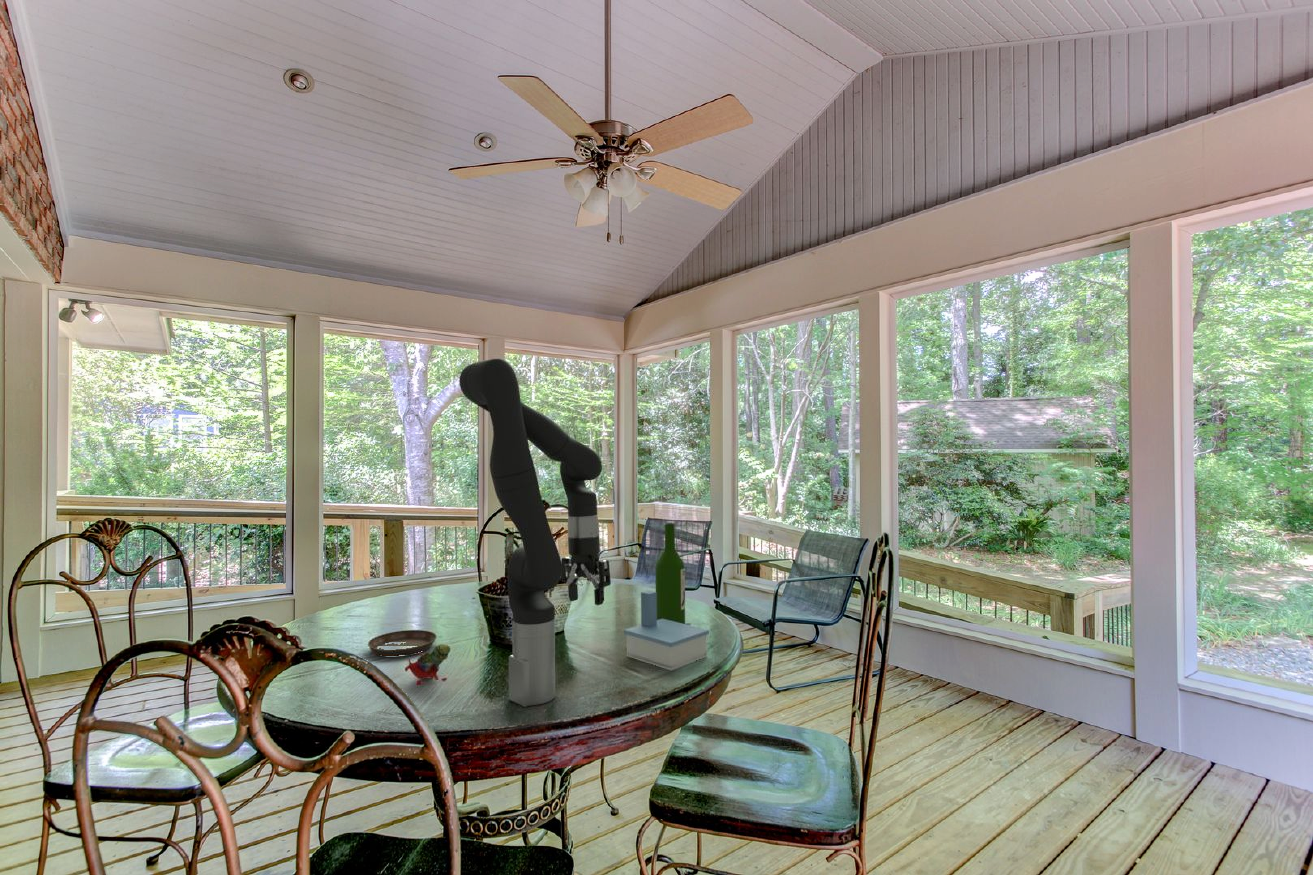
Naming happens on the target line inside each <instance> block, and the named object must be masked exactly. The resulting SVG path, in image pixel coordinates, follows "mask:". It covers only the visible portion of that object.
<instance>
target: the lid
mask: <svg viewBox="0 0 1313 875" xmlns="http://www.w3.org/2000/svg"><path fill="white" fill-rule="evenodd" d="M640 613H641V614H640V618H641V619H640V624H639V625H636V626H632V627H629V628H625V629H623V634H624V635H626V636H627V635H631V636H634V637H638V638H641V639H645V640H648V641H652V642H655V643H659V644H662V645H665V646H669V647H673V646H676V645H678V644H681V643H684V642H687V641H690V640H693V639H696V638H699V637H702V636H704V635H706V636H707V635H710V629H707V628H701V627H699V626H694V625H690V624H686V623H685V624H682V623H678V622H674V621H670V620H666V619H659V620H657V595H656V591H653V590H645V591H641V592H640Z"/></svg>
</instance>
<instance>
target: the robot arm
mask: <svg viewBox="0 0 1313 875" xmlns="http://www.w3.org/2000/svg"><path fill="white" fill-rule="evenodd" d="M458 382H459V387H460V390H461V392H462V394H463V395H464V396H465V398H466V399H468V400H469V401H470V402H471V403H473V404H475V405H476V406H478V407H480V408H481V409H483V410H485V411H487V412H488V413H489V416H490V420H491V425H492V431H493V433H492V434H493V437H492V445H491V449H490V450H491V451H490V456H489V470H490V476H491V480H492V484H493V487H494V490H495V491H494V492H495V495H496V497H497V499H498V502H499V504H500V505H501V507H502V509H503V510H504V511H505V514H506V515H507V516H508V518H509V519H510V520H511V521H512V523H513V525H514V526H515V528H516V529H517V531H518V533H519V536H520V538H521V541H522V546H519V547H518V548H516V549H515V550H514V551H513V552H512V554H511V555H510V558H509V560H508V565H507V595H508V605H509V608H510V610H511V613H512V654H511V655H509V656H508V700H509V701H511V702H513V703H515V704H517V705H520V706H522V707H524V708H526V707H529V706H537V705H542V704H546V703H548V702H551V701H552V700H553V699H555V697H556V664H555V663H556V633H555V632H556V624H555V623H556V621H555V620H556V609H555V605H554V604H553V603H552V602H551V601H550V599H549V598H548V597H547V595H546V594H545V592H546V591H550V590H553V589H554V588H556V586H557V585H558V584H559V583H560V579H561V582H562V583H566V585H567V590H568V591H567V592H568V599H569V601H570V602H575V601H578V599H579V592H578V590H579V588H578V587H579V586H578V584H577V583H578V581H579V580H580V578H585V579H588V581H589V582H590V583H592V586H593V587H594V591H593V592H594V604H595V606H600V605H603V604H604V601H605V588H606V587H609V586H611V584H612V581H611V580H612V579H611V571H610V561H609V560H608V559H604V560H599V554H600V551H601V547H600V545H601V544H600V541H601V540H600V525H599V524H600V523H599V517H598V501H597V500H598V499H597V494H596V492H595V491H592V490H590V489H588V488H587V485H586V483H585V481H593V480H596V479H597V478H599V477H600V476H601V474H602V472H603V471H602V470H603V463H602V460H601V458H600V457H599V455H598V453H597V452H595V450H593V449H592V448H590V447H589V446H587V445H585V444H584V443H582V442H580V441H579V440H577V439H575V438H573V437H572V436H570V435H569V434H568V433H567V432H566V431H565V430H564V429H563V428H562V427H561V426H560V425H558V423H556V422H555V421H554V420H553V419H551V418H549V417H548V416H547V415H545V414H543V413H541V412H540V411H537V410H536V409H534V408H532V407H531V406H529V405H528V404H525V403H524V402H522V401H521V399H522V398H521V393H520V386H519V381H518V376H517V374H516V372H515V370H514V368H513V366H512V365H511V364H510V363H509V362H508V361H507V360H505V359H502V358H490V359H485V360H480V361H475V362H472V363H471V364H467V366H465V367H464V368H463V369H462V371H461V373H460V376H459V381H458ZM529 442H530V443H531V444H532V445H534V446H535V447H536V448H537V449H538V450H539V451H540V452H542V454H544V455H545V456H546V457H547V458H549V459H550V460H552V461H553V462H554V461H555V462H559V463H560V464H559V475H560V478H561V482H562V486H563V488H564V492H565V496H566V499H567V516H568V517H567V518H568V519H567V546H568V550H567V551H568V555H569V556H565V557H561V555H560V553H559V552H560V551H559V550H558V547H557V543H556V541H555V538H554V536H553V534H552V533H553V532H552V530H551V527H550V524H549V521H548V518H547V514H546V509H545V506H544V503H543V502H544V501H543V499H542V498H543V497H542V495H541V491H540V490H541V489H540V485H539V480H538V477H537V476H538V475H537V472H536V467H535V463H534V460H533V456H532V453H531V450H530V449H531V448H530V445H529Z"/></svg>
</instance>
